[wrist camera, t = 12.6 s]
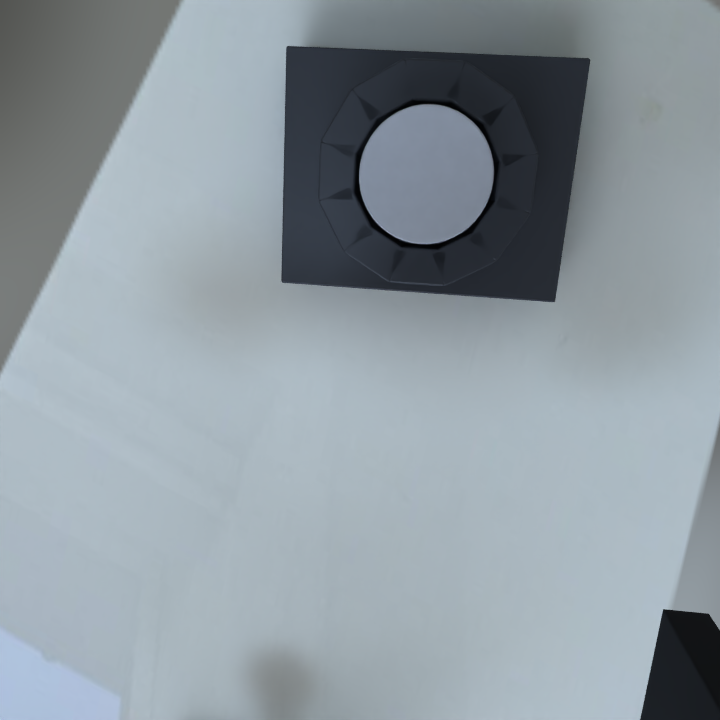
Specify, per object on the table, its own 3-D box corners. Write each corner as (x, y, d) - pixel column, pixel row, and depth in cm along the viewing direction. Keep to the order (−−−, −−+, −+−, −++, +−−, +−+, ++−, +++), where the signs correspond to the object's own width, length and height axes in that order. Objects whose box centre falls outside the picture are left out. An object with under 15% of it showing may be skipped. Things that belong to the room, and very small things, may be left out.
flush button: (494, 114, 19) (501, 107, 17) (480, 243, 20) (486, 248, 18) (367, 108, 19) (362, 100, 18) (360, 235, 20) (355, 239, 19)
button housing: (574, 71, 22) (607, 45, 18) (543, 292, 24) (566, 311, 20) (299, 59, 22) (273, 32, 19) (293, 274, 25) (269, 290, 21)
